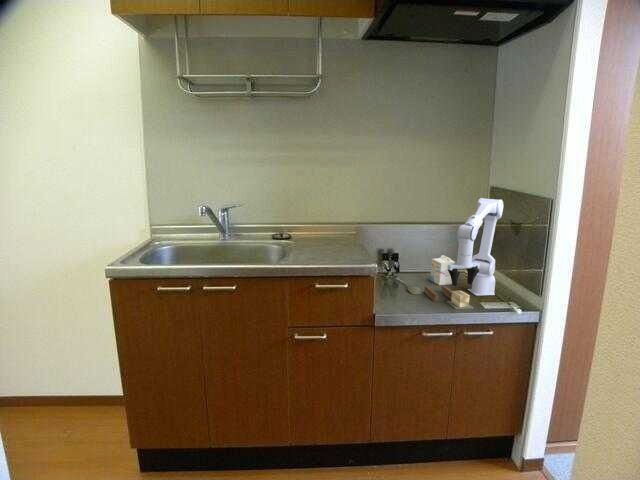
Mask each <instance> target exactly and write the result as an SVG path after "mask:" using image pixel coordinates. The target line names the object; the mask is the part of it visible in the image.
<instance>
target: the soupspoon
mask: <svg viewBox="0 0 640 480" xmlns="http://www.w3.org/2000/svg"><path fill="white" fill-rule="evenodd" d="M395 281H399V282H401V283H403V284H405V285H406V286H407V291H409V293H410V294H413V295H422V294H423V292H424V291H423V290H422V289H421V288H420V287H419V286H417V285H416V286H415V285H410V284H408V283H407V282H405V281H403V280H402V279H400V278H399V277H396V278H395Z"/></svg>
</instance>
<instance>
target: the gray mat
mask: <svg viewBox="0 0 640 480" xmlns="http://www.w3.org/2000/svg"><path fill="white" fill-rule="evenodd" d="M446 302H447V304H448V305H449V306H451V307H452V308H453V309H455V310H473V309H474V306H472V305H470V304H469V306H467V307H458V306H456V305H455V304H453V303H451V300H450V301H449V300H448V301H446Z"/></svg>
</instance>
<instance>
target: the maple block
mask: <svg viewBox="0 0 640 480" xmlns="http://www.w3.org/2000/svg"><path fill="white" fill-rule="evenodd" d="M470 296H471V295H470V294H468V293H466V292H464V291H463V290H452V298H451V299H450V301H451V303H453V304H455V305H456V306H458V307H467V306H469V305H470Z"/></svg>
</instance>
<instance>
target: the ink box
mask: <svg viewBox="0 0 640 480" xmlns="http://www.w3.org/2000/svg"><path fill="white" fill-rule="evenodd" d="M454 263H456V261H454V260H452V258H451V257H448V256H446V255H444V254H442V255H441V256H439V257H437V258H431V265H430V266H431V268H430V275H429V281H431V282H433V283H434V284H437V285H438V286H447V285H452V280H451V276H450V274H449V271H448V265H450V264H454Z"/></svg>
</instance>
